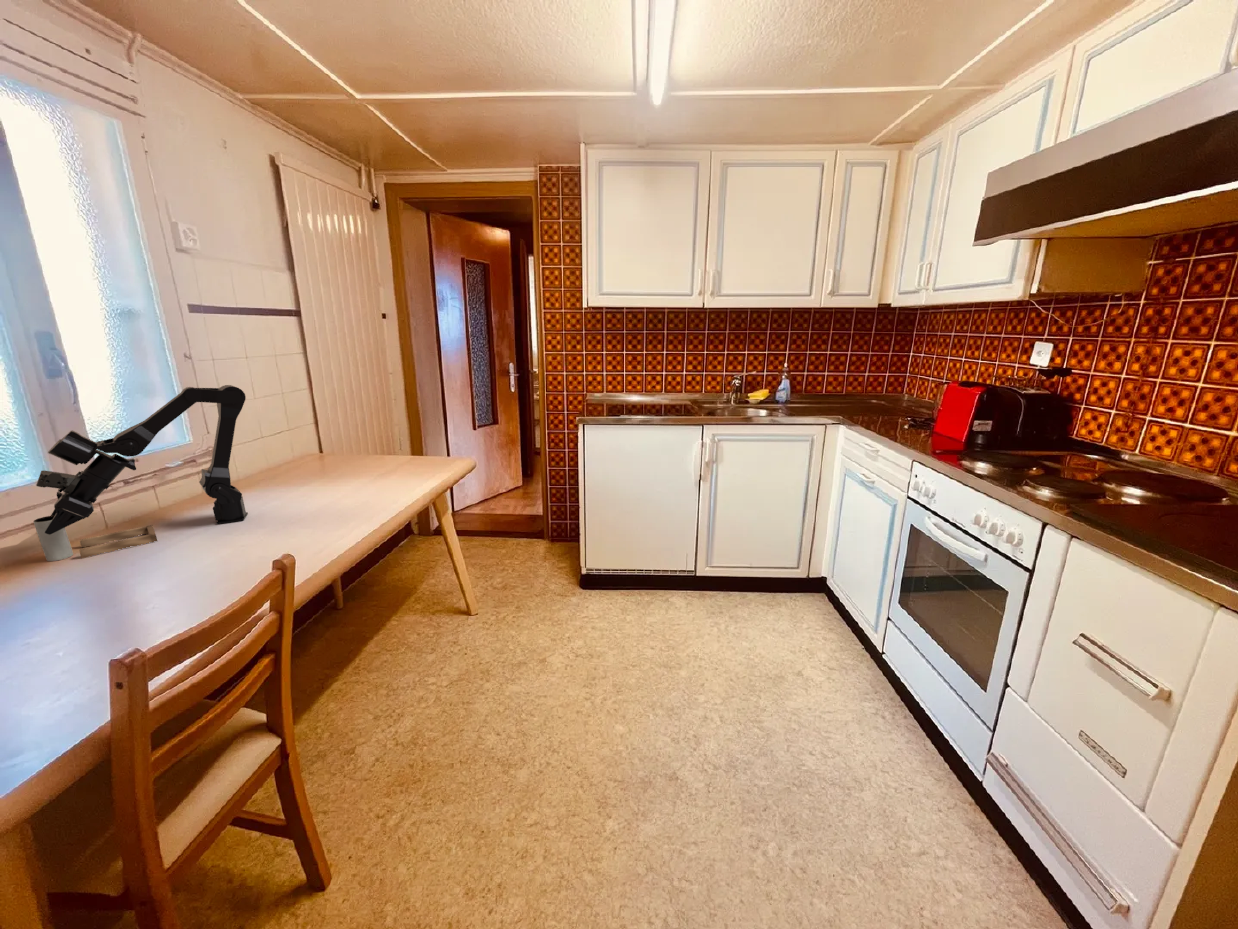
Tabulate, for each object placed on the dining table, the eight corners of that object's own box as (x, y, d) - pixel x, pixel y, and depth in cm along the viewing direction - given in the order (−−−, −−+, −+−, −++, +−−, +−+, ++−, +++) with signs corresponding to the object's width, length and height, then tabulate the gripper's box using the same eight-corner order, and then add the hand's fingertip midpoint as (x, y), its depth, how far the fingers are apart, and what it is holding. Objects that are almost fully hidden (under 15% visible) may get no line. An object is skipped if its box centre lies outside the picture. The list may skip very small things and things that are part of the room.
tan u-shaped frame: (154, 531, 139) (152, 524, 139) (157, 541, 133) (155, 534, 132) (81, 547, 130) (79, 539, 129) (81, 558, 123) (79, 551, 122)
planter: (55, 562, 121) (42, 522, 118) (41, 560, 122) (27, 521, 119) (78, 554, 125) (65, 515, 123) (64, 552, 126) (51, 514, 124)
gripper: (60, 451, 127) (8, 503, 122) (56, 464, 114) (-2, 523, 110) (112, 474, 134) (65, 524, 130) (114, 489, 122) (62, 545, 117)
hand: (48, 528), depth 121 cm, fingers open, 9 cm apart
